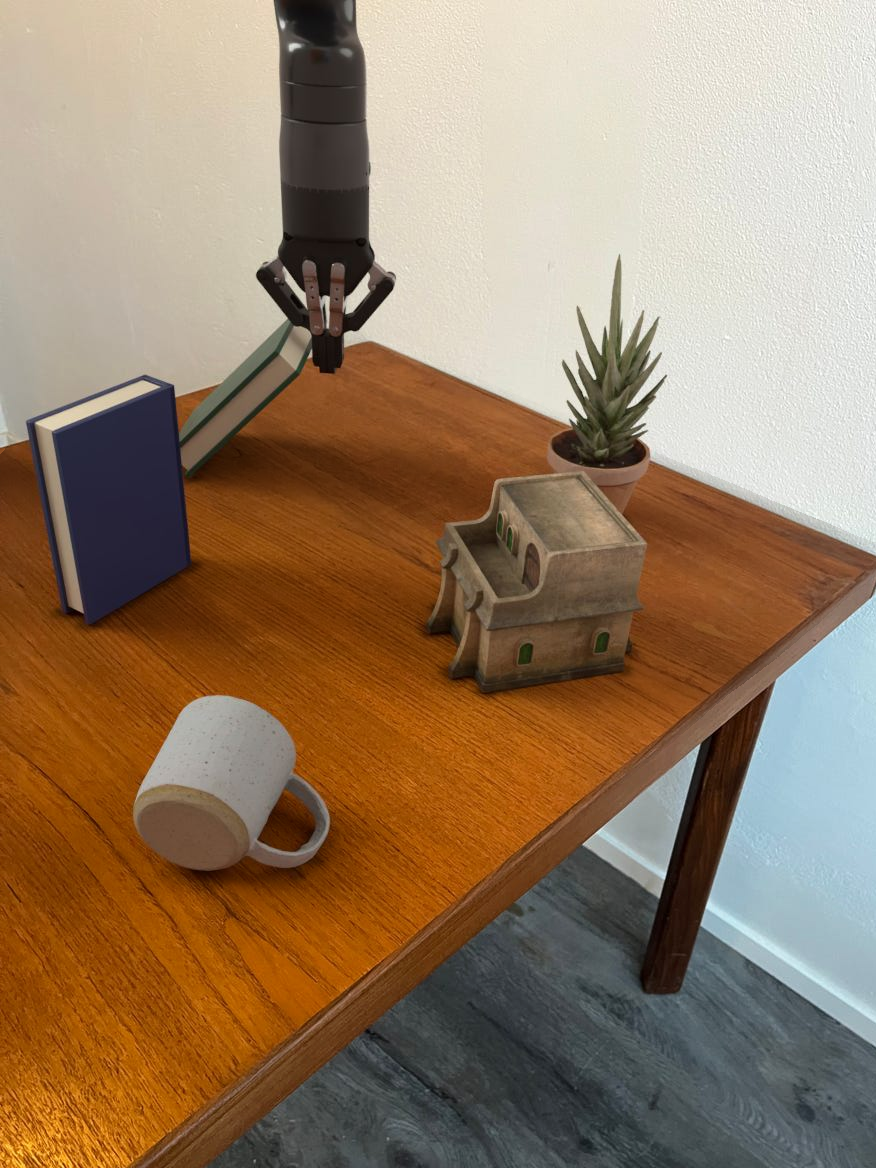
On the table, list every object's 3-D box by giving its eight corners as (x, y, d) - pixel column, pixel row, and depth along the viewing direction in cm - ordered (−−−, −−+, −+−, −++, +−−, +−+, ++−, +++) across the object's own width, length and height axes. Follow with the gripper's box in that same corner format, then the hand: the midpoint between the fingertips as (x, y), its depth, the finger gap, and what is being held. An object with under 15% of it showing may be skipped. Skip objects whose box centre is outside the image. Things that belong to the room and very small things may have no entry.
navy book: (174, 384, 76) (145, 374, 77) (56, 433, 68) (25, 420, 69) (191, 564, 85) (165, 552, 86) (89, 625, 77) (62, 611, 78)
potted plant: (560, 483, 103) (596, 231, 88) (649, 508, 100) (701, 252, 85) (522, 524, 95) (554, 256, 81) (617, 553, 92) (667, 280, 78)
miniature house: (573, 574, 89) (592, 456, 82) (645, 671, 78) (673, 544, 72) (409, 595, 84) (415, 471, 77) (462, 700, 74) (473, 568, 67)
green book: (319, 332, 99) (297, 309, 98) (300, 374, 91) (275, 349, 89) (215, 430, 106) (193, 410, 105) (188, 478, 97) (163, 457, 96)
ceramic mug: (130, 868, 59) (115, 773, 54) (184, 773, 65) (174, 681, 61) (307, 901, 58) (306, 808, 54) (344, 801, 65) (346, 711, 60)
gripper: (237, 178, 83) (251, 380, 93) (398, 191, 83) (394, 391, 93) (256, 159, 89) (267, 351, 99) (406, 171, 89) (401, 361, 99)
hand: (328, 370), depth 96 cm, fingers closed
